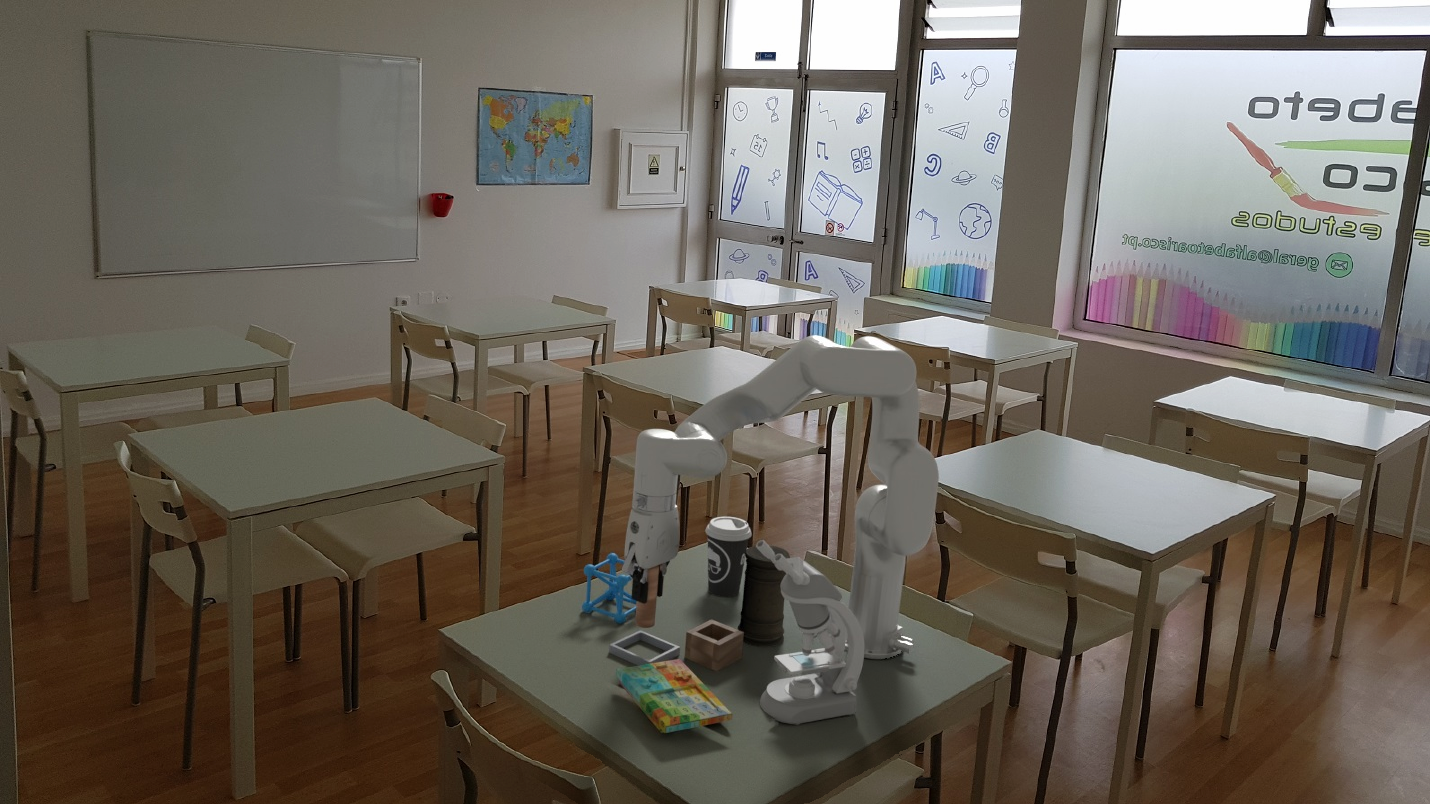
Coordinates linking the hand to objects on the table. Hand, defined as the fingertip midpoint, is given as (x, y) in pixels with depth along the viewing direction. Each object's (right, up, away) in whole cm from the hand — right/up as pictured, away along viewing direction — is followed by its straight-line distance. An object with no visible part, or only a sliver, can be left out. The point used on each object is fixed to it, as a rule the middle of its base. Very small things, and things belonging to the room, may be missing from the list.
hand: (646, 596), depth 201 cm
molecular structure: (-8, -7, +22) cm, 24 cm away
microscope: (+26, -17, -11) cm, 33 cm away
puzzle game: (+5, -17, -14) cm, 22 cm away
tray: (-1, -12, +3) cm, 12 cm away
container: (+21, -11, +14) cm, 27 cm away
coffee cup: (+14, -5, +35) cm, 38 cm away
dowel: (0, -5, +1) cm, 5 cm away
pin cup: (+12, -13, +3) cm, 17 cm away
